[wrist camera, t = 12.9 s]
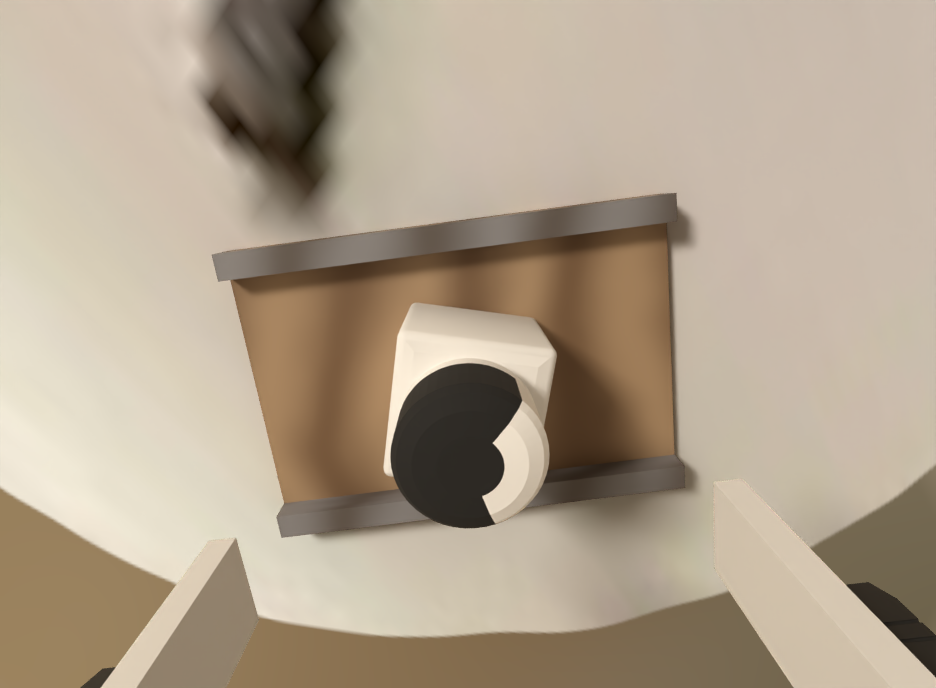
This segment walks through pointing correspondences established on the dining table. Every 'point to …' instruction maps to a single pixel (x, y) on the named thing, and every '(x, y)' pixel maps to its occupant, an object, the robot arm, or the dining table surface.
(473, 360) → the medicine bottle
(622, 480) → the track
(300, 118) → the dining table surface
